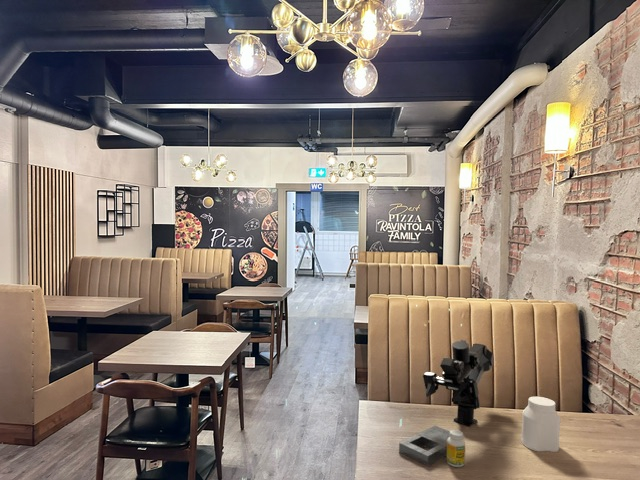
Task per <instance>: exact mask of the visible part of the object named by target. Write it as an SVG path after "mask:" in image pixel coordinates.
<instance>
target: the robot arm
mask: <svg viewBox="0 0 640 480" xmlns="http://www.w3.org/2000/svg"><path fill="white" fill-rule="evenodd" d="M451 347H452V348H451V350H452V352H451V353H452V358H448V357H443V358H442V360H441V363H440V368H441V369H442V373H441V376H442V377H438V376H437V373H435V372H430V371H429V372H428V371H426V372H424V373H423V375H422V378H423V382H424V387H425V390H426V393H425V395H426V398H428V397H430V396H432V395H434V394H436V392H437V391H438V390H439V386H442V387H445V390H448V391H452V397H451V402H452V403H453V405H457V413H456V414H457V417H454V418H453V421H454V422H457V423H459V424H462V425H464V426H468V427H470V426H472V425H474V424H476V423H478V419H476V418H475V410H477V409H480V407H481V405H480V404H481V403H480V401H481V400H480V398H479V386H478V385H479V383H480V380H481V378H482V377H483V374H484V373H485V372H488V371H490V370H491V368H492V367H494V364H495V358H494V354H493V352H492V351H491V350H489V349H488V347H487V345H485V344H483V343H477V342H475V343H473V344H472V346H471V347H470V344H469V343H468V342H467V340H463V339H460V340H459V341H455V342H453V343H452V344H451Z"/></svg>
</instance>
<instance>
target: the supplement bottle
mask: <svg viewBox="0 0 640 480" xmlns="http://www.w3.org/2000/svg"><path fill="white" fill-rule="evenodd" d="M449 436H450V437H449V438H448V439H447V455H446V462H447V464H448V465H450V466H451V467H455V468H461V467H463V466H464V465H465V459H466V458H465V457H466V455H465V454H466V442H465V439H464V432H463V431H461V430H458V429H451V430H450V435H449Z"/></svg>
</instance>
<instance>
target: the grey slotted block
mask: <svg viewBox="0 0 640 480" xmlns="http://www.w3.org/2000/svg"><path fill="white" fill-rule="evenodd" d="M450 431H451V430H450ZM450 431H449V430H448V429H444V428H443V427H440V426H437V425H433V426H431V427H429V428H426V429H425V430H423V431H421V432H419V433H417V434H414V435H412V436H411V437H408V438H406V439H405V440H402V441H400V442H399V444H398V453H400V454H403V455H405V456H407V457H409V458H411V459H413V460H415V461H417V462H419V463H421V464H424V465H426V466H430V465H432V464H433V463H435V462H437V461H439V460H440V459H442V458H445V456H446V457H447V439H448V438H449V437H450V436H449V435H450ZM421 446H423V447H424V448H427V449H428V450H426V449H424V448H422V447H421Z"/></svg>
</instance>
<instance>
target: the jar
mask: <svg viewBox="0 0 640 480" xmlns="http://www.w3.org/2000/svg"><path fill="white" fill-rule="evenodd" d="M521 416H522V422H521V423H522V424H521V425H522V427H521V441H520V442H521V443H522V445H523V446H525V447H526V448H527V449H530V450H532V451H535V452H552V453H557V452H558V451H559V450H560V430H561V427H560V426H561V417H560V416H559V414H558V412H557V411H556V402H555V401H554V400H552V399H550V398H546V397H543V396H530V397H529V398H528V403H527V406H526V407H525V408H524V409H523V411H522V415H521Z"/></svg>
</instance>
